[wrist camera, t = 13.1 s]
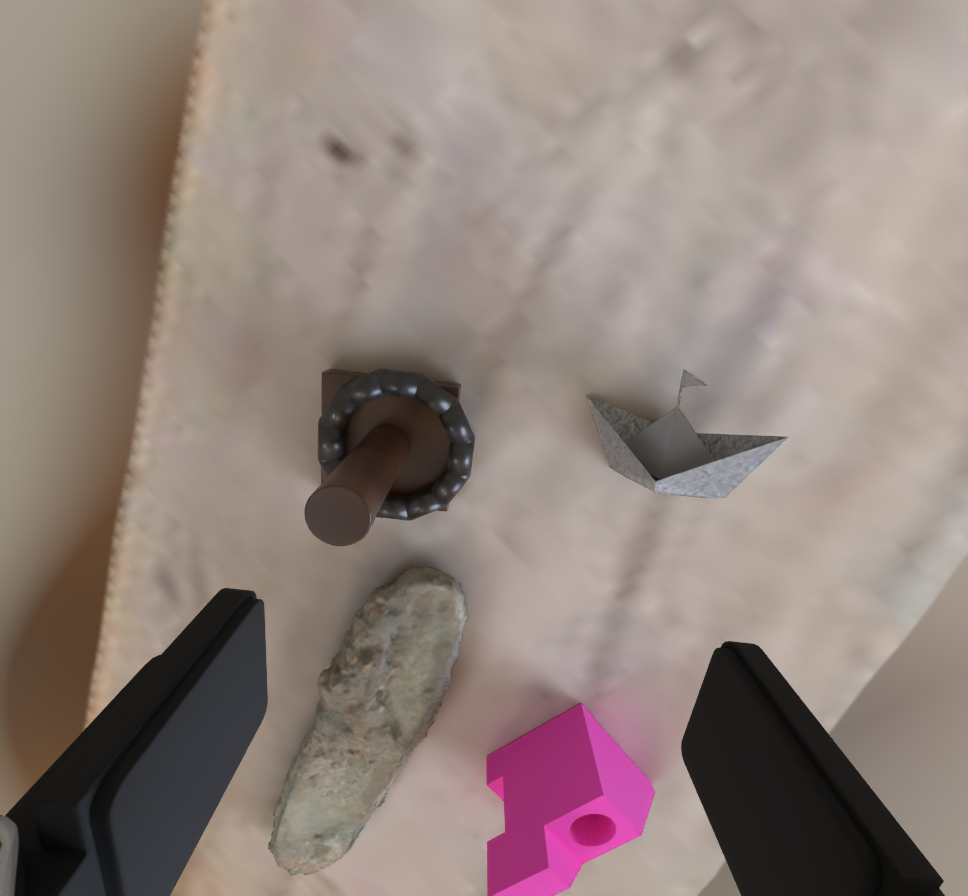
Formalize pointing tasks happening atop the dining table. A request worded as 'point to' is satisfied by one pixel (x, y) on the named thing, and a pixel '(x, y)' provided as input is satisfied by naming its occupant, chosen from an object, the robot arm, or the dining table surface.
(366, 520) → the peg stand
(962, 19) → the dining table surface
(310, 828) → the long grey stone
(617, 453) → the paper boat
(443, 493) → the hoop
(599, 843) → the bracket
